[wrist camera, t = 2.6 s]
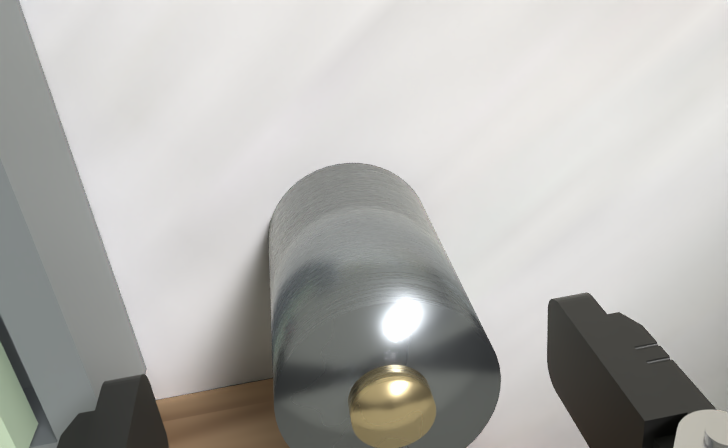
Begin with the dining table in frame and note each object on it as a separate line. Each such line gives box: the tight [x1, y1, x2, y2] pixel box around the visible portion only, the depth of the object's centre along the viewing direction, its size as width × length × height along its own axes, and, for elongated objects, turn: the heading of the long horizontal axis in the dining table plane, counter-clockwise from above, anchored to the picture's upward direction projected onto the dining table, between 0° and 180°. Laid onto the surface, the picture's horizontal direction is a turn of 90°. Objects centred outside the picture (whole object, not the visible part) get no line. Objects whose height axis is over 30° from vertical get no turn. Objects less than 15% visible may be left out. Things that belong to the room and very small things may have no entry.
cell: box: [269, 163, 501, 448], centre depth 16 cm, size 4×4×7 cm
